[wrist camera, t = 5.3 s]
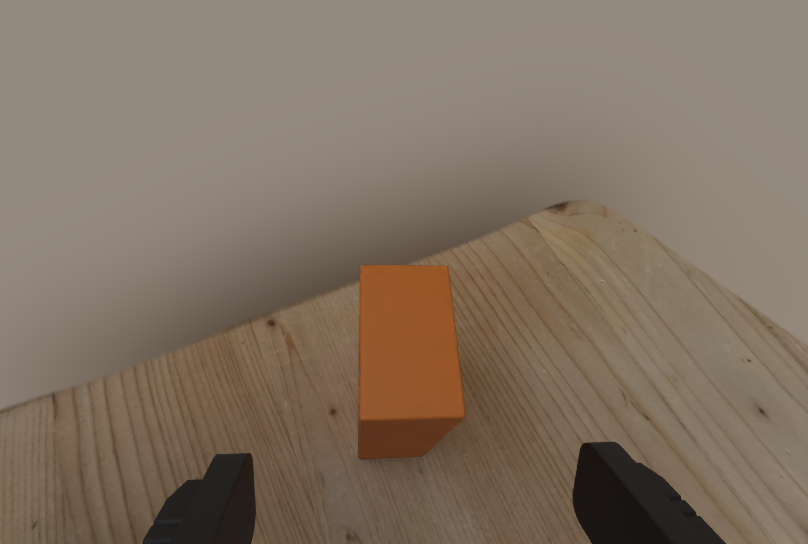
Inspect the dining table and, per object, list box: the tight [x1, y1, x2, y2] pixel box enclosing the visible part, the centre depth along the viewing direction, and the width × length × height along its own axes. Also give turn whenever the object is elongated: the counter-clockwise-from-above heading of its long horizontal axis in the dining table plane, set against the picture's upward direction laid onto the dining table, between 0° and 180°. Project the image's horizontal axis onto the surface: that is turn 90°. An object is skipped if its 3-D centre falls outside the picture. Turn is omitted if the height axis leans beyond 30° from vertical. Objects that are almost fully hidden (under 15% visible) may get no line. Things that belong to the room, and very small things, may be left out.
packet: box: [358, 265, 466, 459], centre depth 16 cm, size 3×5×9 cm, turn 3°
